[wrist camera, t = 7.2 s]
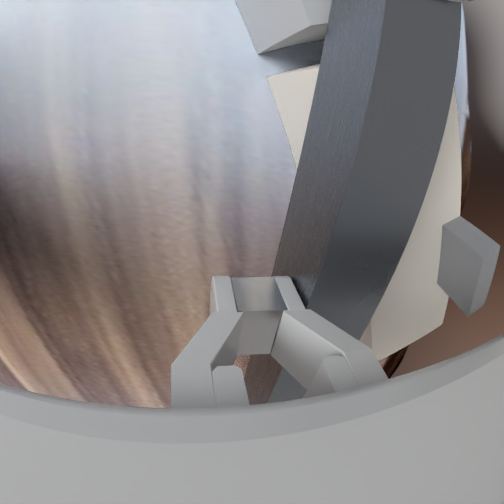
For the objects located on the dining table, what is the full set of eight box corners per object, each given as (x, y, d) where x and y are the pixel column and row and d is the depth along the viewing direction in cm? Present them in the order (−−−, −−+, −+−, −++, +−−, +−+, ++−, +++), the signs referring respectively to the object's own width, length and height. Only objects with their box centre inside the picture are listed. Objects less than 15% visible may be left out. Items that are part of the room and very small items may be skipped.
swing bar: (329, -81, 4) (379, -120, 1) (413, -38, 4) (476, -53, 2) (232, 383, 14) (243, 440, 11) (296, 378, 15) (314, 429, 12)
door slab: (388, 262, 23) (464, 353, 14) (329, 290, 23) (391, 399, 14) (354, 56, 14) (503, 58, 5) (266, 77, 14) (380, 63, 5)
